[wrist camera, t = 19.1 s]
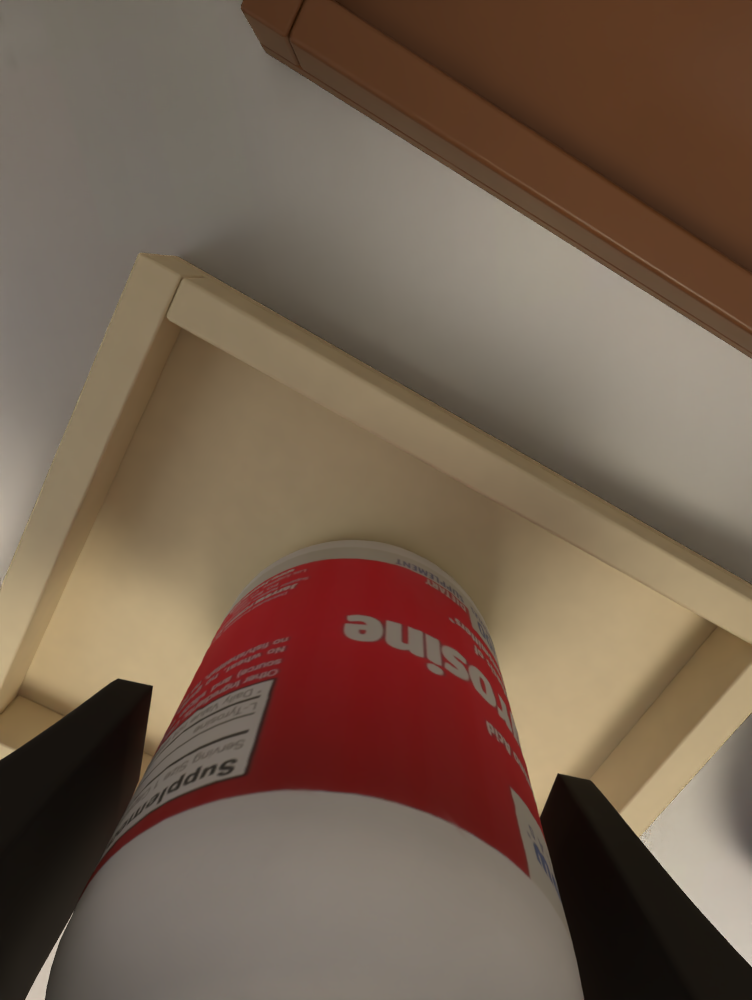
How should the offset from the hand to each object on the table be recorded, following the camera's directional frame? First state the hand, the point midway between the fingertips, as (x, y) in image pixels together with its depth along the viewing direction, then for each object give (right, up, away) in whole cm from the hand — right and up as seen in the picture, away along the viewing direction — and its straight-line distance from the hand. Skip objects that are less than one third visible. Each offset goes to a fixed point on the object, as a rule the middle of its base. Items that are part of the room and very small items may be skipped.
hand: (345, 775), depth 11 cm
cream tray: (0, +1, +4) cm, 4 cm away
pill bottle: (0, +1, +4) cm, 4 cm away
